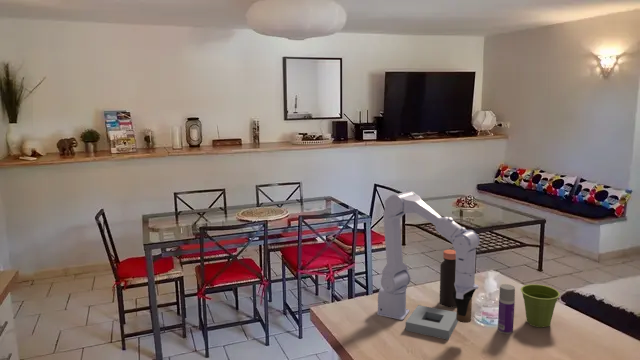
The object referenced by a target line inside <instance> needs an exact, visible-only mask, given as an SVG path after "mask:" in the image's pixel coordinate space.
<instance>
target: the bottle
mask: <svg viewBox="0 0 640 360" xmlns="http://www.w3.org/2000/svg"><path fill="white" fill-rule="evenodd" d="M442 253H443V255H442V257H443V261H442V262H441V263H440V264H439V265H440V267H439V268H440V269H439V270H440V272H439V304H440V305H441V306H443V307H446V308H457V306H456V302H455V300H454V298H453V296H452V293H453V292H456V289H455V286H454V283H455V271H456V251H455V249H445V250H443V252H442Z"/></svg>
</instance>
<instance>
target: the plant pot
mask: <svg viewBox="0 0 640 360" xmlns="http://www.w3.org/2000/svg"><path fill="white" fill-rule="evenodd" d="M520 292H521V293H522V298H523V302H524V303H523V304H524V309H525V318H526V322H527V323H529V325H530V326H532V327H535V328H536V327H537V328H544V327H547V328H548V327H550V325H551V322H552V319H553V315H554V310H555V306H556V304H557V303H558V298H560V297H561V296H560V295H561V292H559V291H558V289H556V288H553V286H552V287H551V286H549V285H548V286H547V285H543V284H538V283H536V284H534V283H533V284H531V283H530V284H525V285H522V286H521V287H520Z"/></svg>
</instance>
